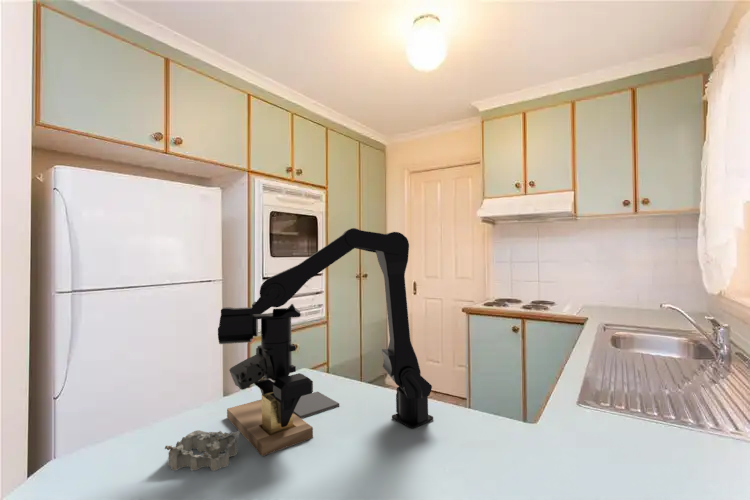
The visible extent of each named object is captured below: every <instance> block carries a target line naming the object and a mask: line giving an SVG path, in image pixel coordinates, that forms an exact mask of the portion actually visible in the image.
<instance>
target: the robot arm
mask: <svg viewBox="0 0 750 500" xmlns="http://www.w3.org/2000/svg"><path fill="white" fill-rule="evenodd" d="M354 249H357V250H360V251H361V250H362V251H366V252H370V253H375V254H376V258H377V262H378V264H379V266H380V270H381V272H382V274H383V279H384V289H385V290H384V292H385V303H386V311H387V313H386V314H387V322H388V333H389V343H388V347H387V348H386V349H385V348H382V349H381V353H382V357H383V362H382V363H383V364H382V368H383V369H384V370H385V372H386V373H387V375H388V376H389V377H390V378H391V379H392V381H393V382H394V383H395V384H396V385H397V386H396V394H395V398H396V399H395V407H396V409H395V411H396V413H394V414H392V415H391V419H392V420H395V421H397V422H398V423H400V424H402V425H405V426H407V427H408V428H410V429H415V428H417V427H420V426H421V425H424V424H426V423H429V422H431V421H433V420H434V416H432V415H429V396H430V394H431V391H432V389H433V385H431V384H430V382H428V380H426V379H425V378H424V376H422V373H421V368H420V364H419V361H418V357H417V354H416V352H415V349H414V347H413V345H412V341H411V334H410V322H409V321H410V320H409V311H408V301H407V299H408V298H407V291H406V290H407V287H406V277H405V273H406V270H407V268H408V267H407V266H408V262H409V253H410V244H409V239H408V238H407V237H406V236H405V235H404V234H403V233H401V232H399V231H392V232H388V233H380V232H374V231H365V230H361V229H359V228H356V227H355V228H354V227H353V228H350V229H347V230H345V231H344V232H343V233H342V234H341V235H339V237H337V238H336V239H334V240H332V241H331V242H329V244H327V245H325V246H324V247H322V248H321V249H319V250H317V252H315V253H313V254H312V255H310V256H309V257H308V258H306V259H305V260H303V261H302V262H300V263H299V264H296V265H294V266H292V267H290V268H288V269H286V270H283V271H281V272H279V273H276V274H274V275H272V276H270V277H268V278H267V279H266V280H265V281H264V282H263V283H262V284H261V286H260V288H259V289H260V290H259V297H258V299H257V301H254V302H252V304H251V306H250V307H249V306H248V307H229V306H228V307H222V308H221V310H220V317H219V325H218V327H217V339H218V344H219V345H226V344H227V345H229V344H243V343H244V344H245V343H247V344H248V343H252V341H253V339H254V337H255V338H256V337H258V336H259V335H258V334H259V320H260V337H261V338H260V341H261V342H260V343H261V344H260V345H257V347H256V349H255V355H252V356H250V357H248V358H246V359H244V360H242V361H240V362H239V363H237V364H235V365H234V366H232V367H230V368H229V370H228V371H229V373H230V376H231V378H232V380H233V384H234V385H235V386H236V387H237V388H239V390H246V389H249V388H250V387H251V386H252V385H255V386H256V387H257V388H259V390H260V394H261V396H262V395H263V394H267V393H271V392H274V393H272V394H270V396H272V397H273V398H274V399H275V400H277V404H278V411H279V418H280V423H281V427H285V426H287V425H288V423H289V420H290V418H291V416H292V414H293V412H294V409H295V407H296V405H297V403H298V401H299V399H300V398H301V396H304V395H307V394H311V393H314V381H313V380H312V379H311V378H309V377H308V376H307V375H305V374H302V373H296V371H297V368H296V367H297V366H296V365H295V364H294V365H293V364H292V363H293V360H292V359H293V358H292V357H293V356H292V355H293V354H292V352H294V351H296V345H295V344H293V343H292V318H300V317H301V311H300V310H299V309H297V308H296V307H295V305H294V303H290V305H289V306H288V307H285V308H283V307H282V306H284V305H286V304H287V302H288V301H290V300H291V299H292V298H293V297H294V296H295V295H296V294H297V293H298V292H299V291H300V290H301V289H302V288H303V287H304V285H306V283H307V282H308V281H310V280H312V278H314V277H315V276H317V275H318V274H319V273H321V272H322V271H324V270H325V269H327V268H328V267H329V266H331V265H332V264H334V263H336V262H337V261H338V260H339V259H341V258H342V257H344V256H346V255H347V254H349V253H351V251H352V250H354ZM280 307H282V308H280ZM271 308H273V309H272V312H269V313H268V312H267V313H265V312H266V311H267V310H269V309H271ZM292 373H294V374H292ZM295 373H296V374H295Z"/></svg>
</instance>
